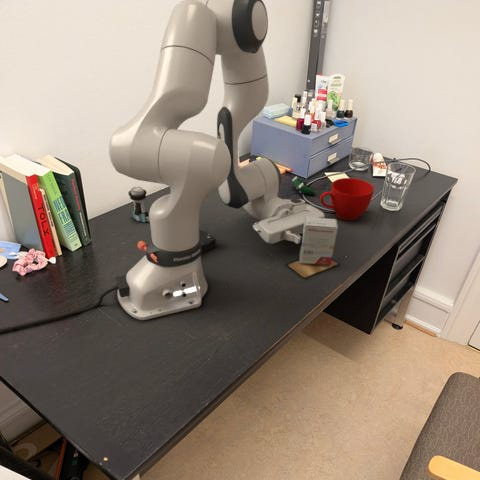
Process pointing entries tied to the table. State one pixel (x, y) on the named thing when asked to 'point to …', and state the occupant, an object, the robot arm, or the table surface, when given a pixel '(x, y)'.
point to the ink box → (318, 240)
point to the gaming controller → (302, 186)
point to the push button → (139, 204)
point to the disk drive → (206, 240)
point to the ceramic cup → (349, 197)
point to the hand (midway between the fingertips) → (310, 237)
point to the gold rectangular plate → (309, 268)
